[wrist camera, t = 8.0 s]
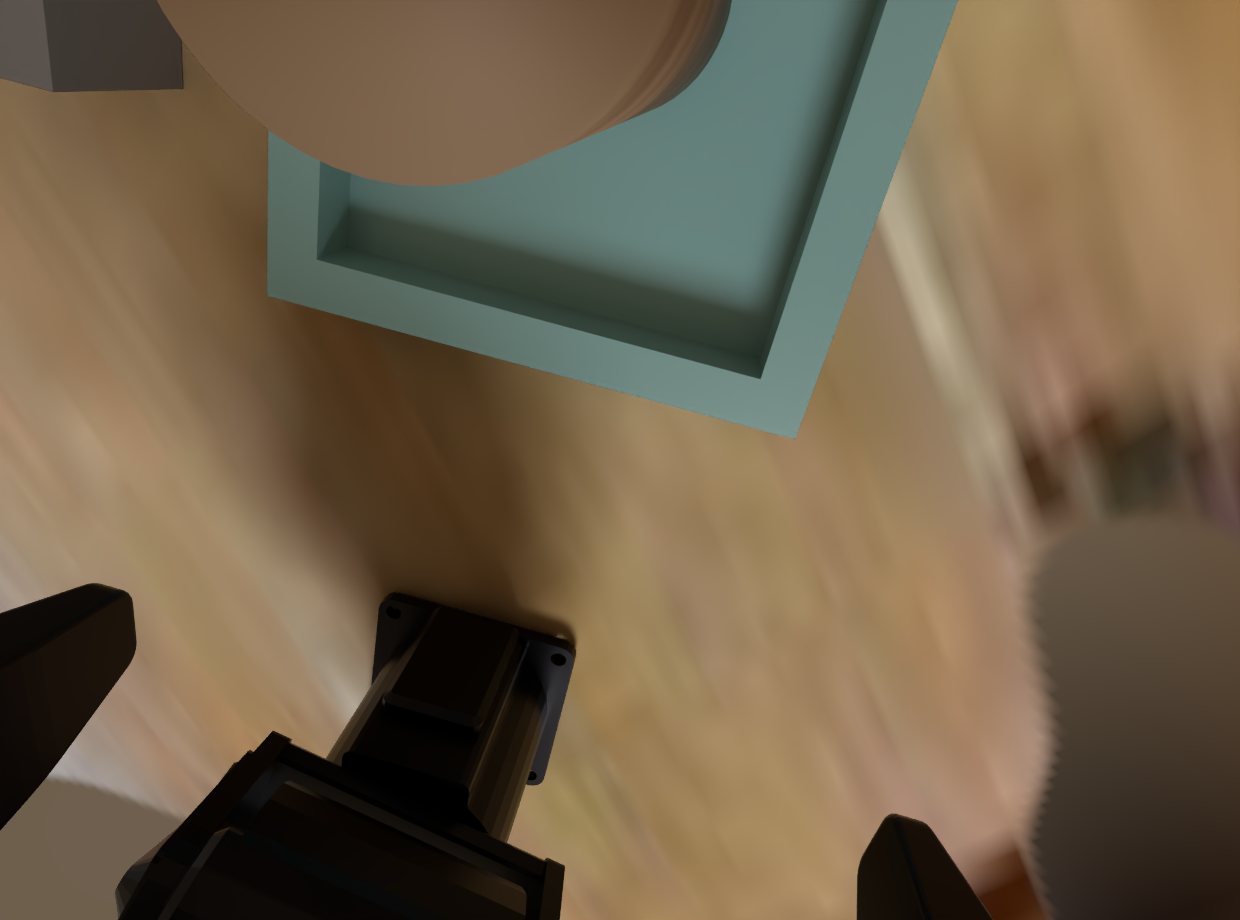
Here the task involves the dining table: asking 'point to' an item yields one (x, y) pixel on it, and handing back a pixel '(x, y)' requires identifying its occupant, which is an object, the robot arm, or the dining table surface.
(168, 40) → the holder
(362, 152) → the pepper mill
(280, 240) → the tray
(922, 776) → the dining table surface
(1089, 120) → the dining table surface
